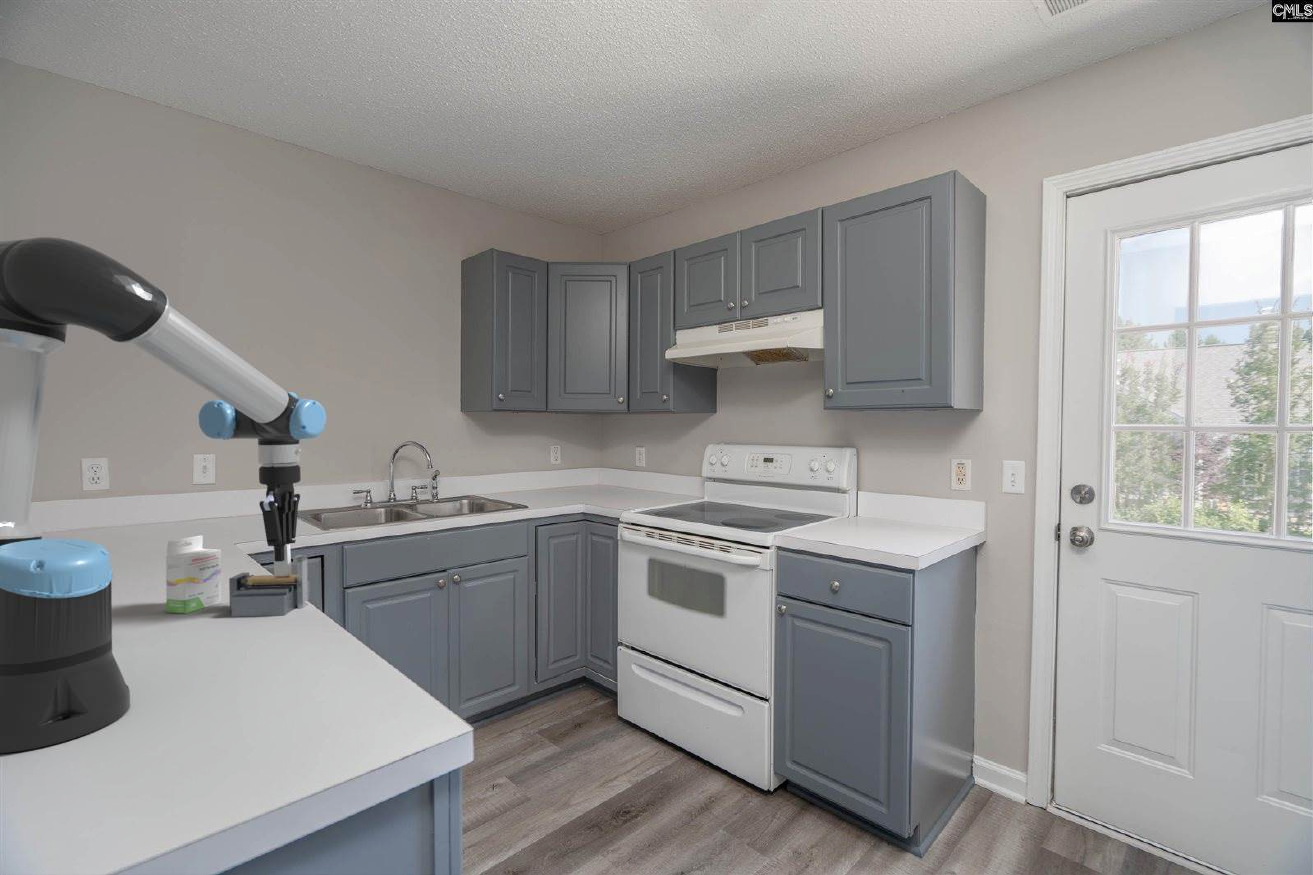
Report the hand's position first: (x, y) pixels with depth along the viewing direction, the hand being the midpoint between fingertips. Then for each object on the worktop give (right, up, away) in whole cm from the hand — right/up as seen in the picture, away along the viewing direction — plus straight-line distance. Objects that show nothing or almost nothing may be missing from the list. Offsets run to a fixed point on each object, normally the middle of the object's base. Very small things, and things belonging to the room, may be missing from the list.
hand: (282, 575), depth 132 cm
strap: (-2, -1, -1) cm, 3 cm away
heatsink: (-2, -7, 0) cm, 7 cm away
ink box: (-18, -7, 0) cm, 20 cm away
